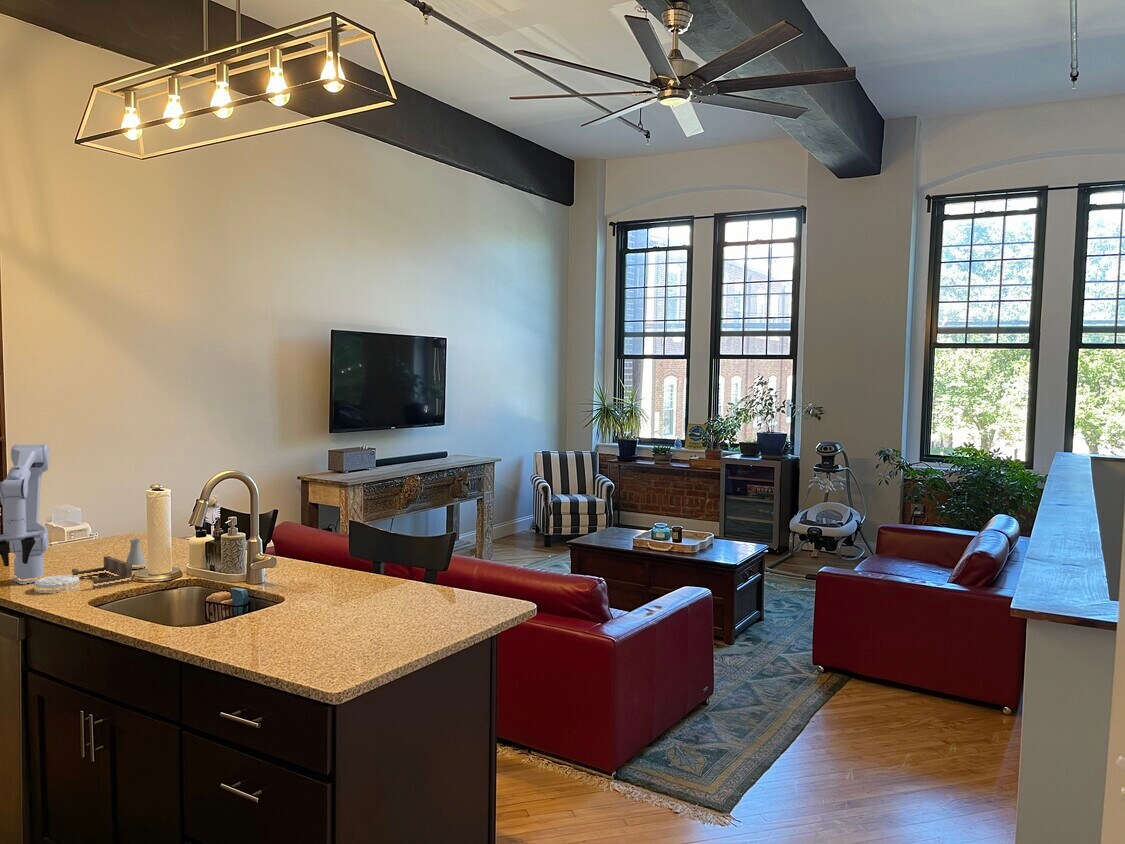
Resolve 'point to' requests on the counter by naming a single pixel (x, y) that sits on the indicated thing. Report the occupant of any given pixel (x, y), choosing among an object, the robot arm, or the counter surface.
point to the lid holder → (112, 566)
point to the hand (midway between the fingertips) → (15, 564)
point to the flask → (136, 554)
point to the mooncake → (56, 583)
